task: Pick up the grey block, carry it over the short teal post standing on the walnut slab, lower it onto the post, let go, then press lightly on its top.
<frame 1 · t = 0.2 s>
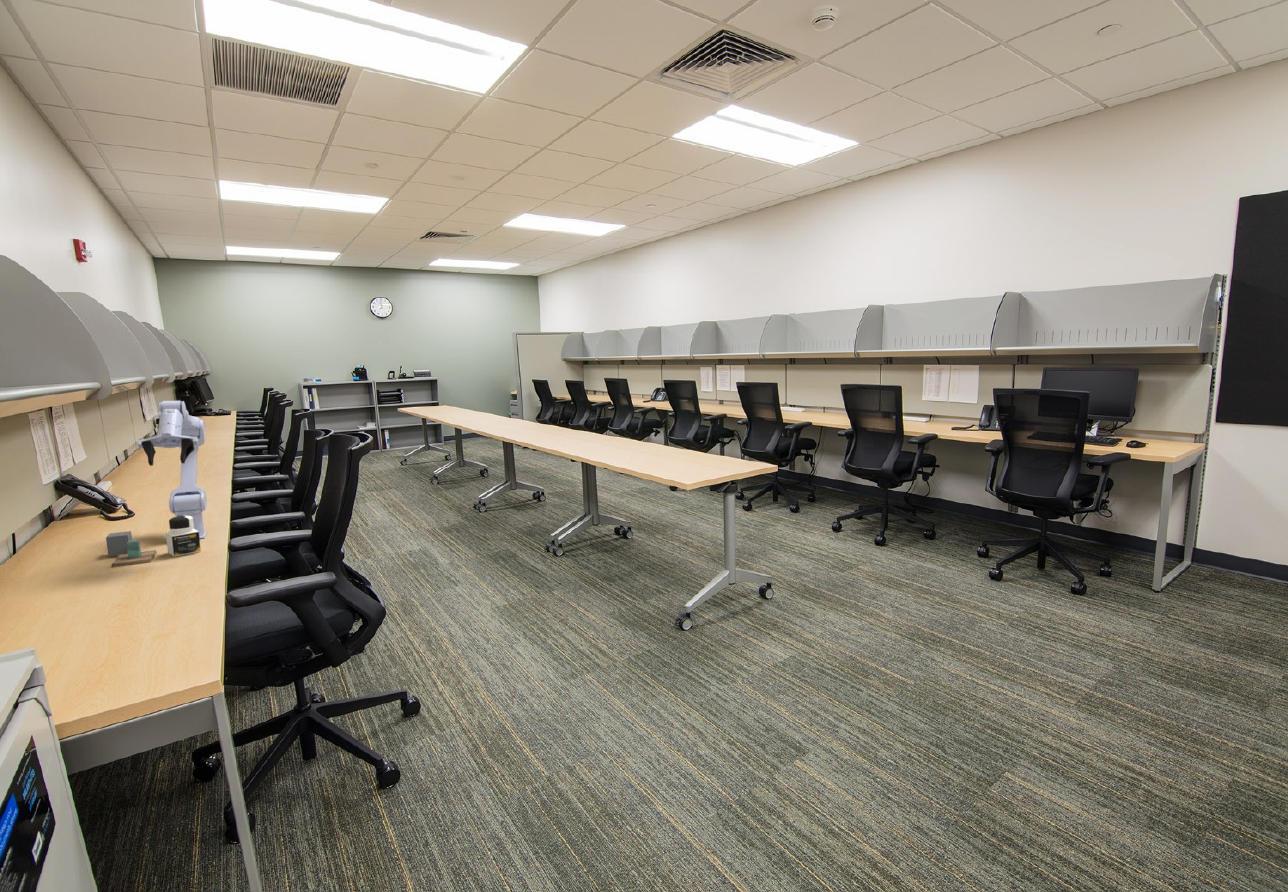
hand: (166, 462, 174), 31 cm above the table, tool tilted 45°, fingers open, 7 cm apart
stand: (135, 559, 177), on the table
medicine bottle: (184, 552, 185), on the table
grey block: (121, 553, 183), on the table
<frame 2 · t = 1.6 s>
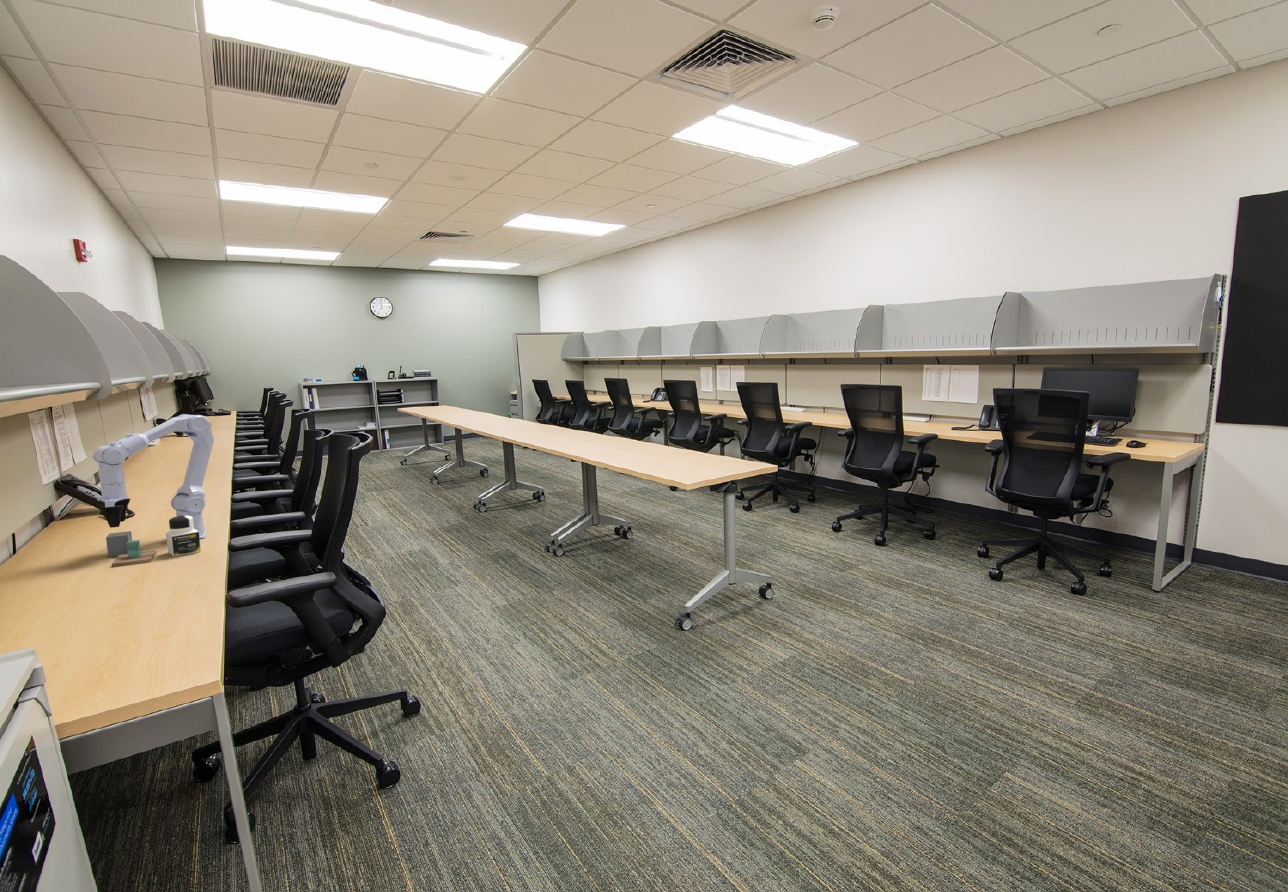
hand: (117, 524, 182), 10 cm above the table, tool pointing down, fingers open, 7 cm apart
nothing on the table moved.
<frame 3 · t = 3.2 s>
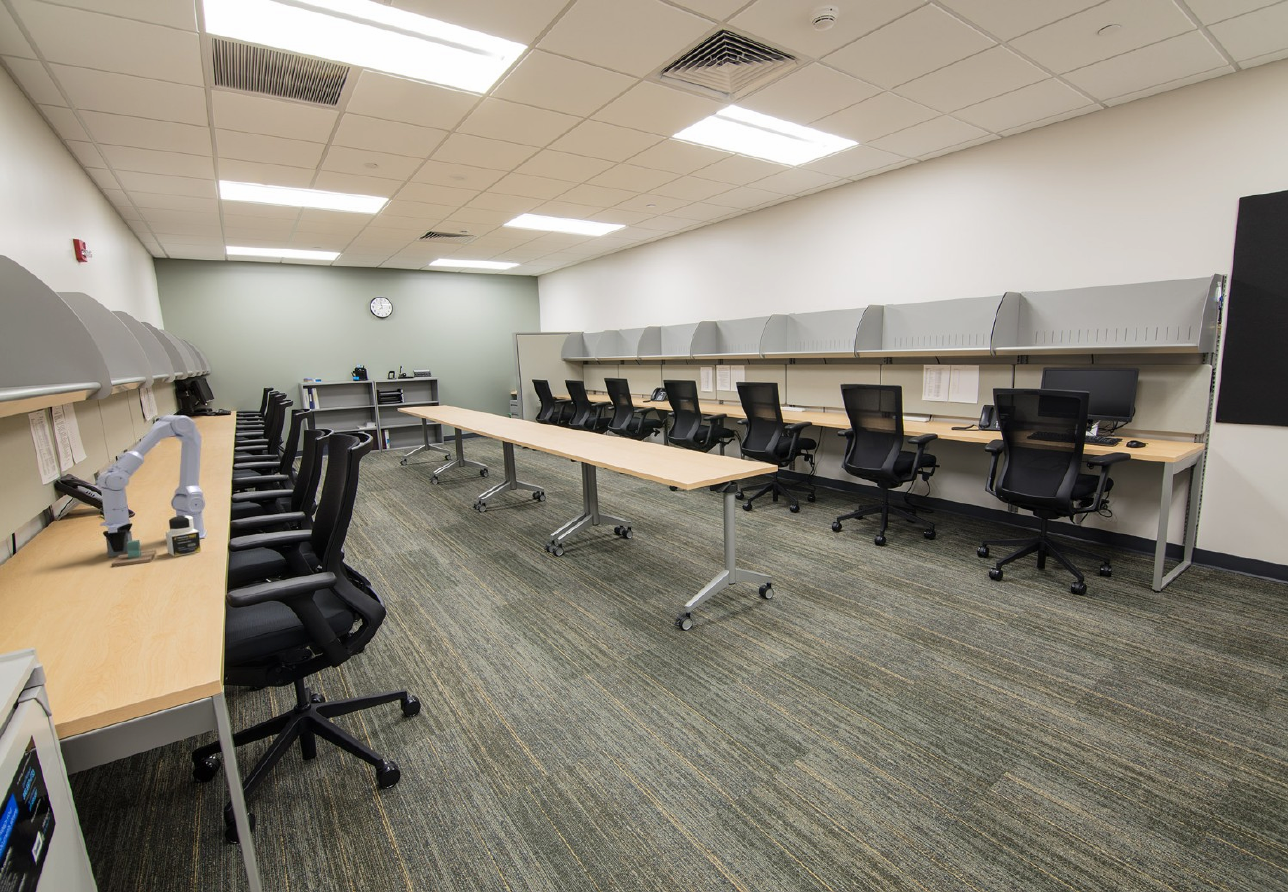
hand: (120, 549, 183), 2 cm above the table, tool pointing down, fingers closed on grey block, 5 cm apart
grey block: (121, 553, 183), on the table, touching gripper
everything else where it was.
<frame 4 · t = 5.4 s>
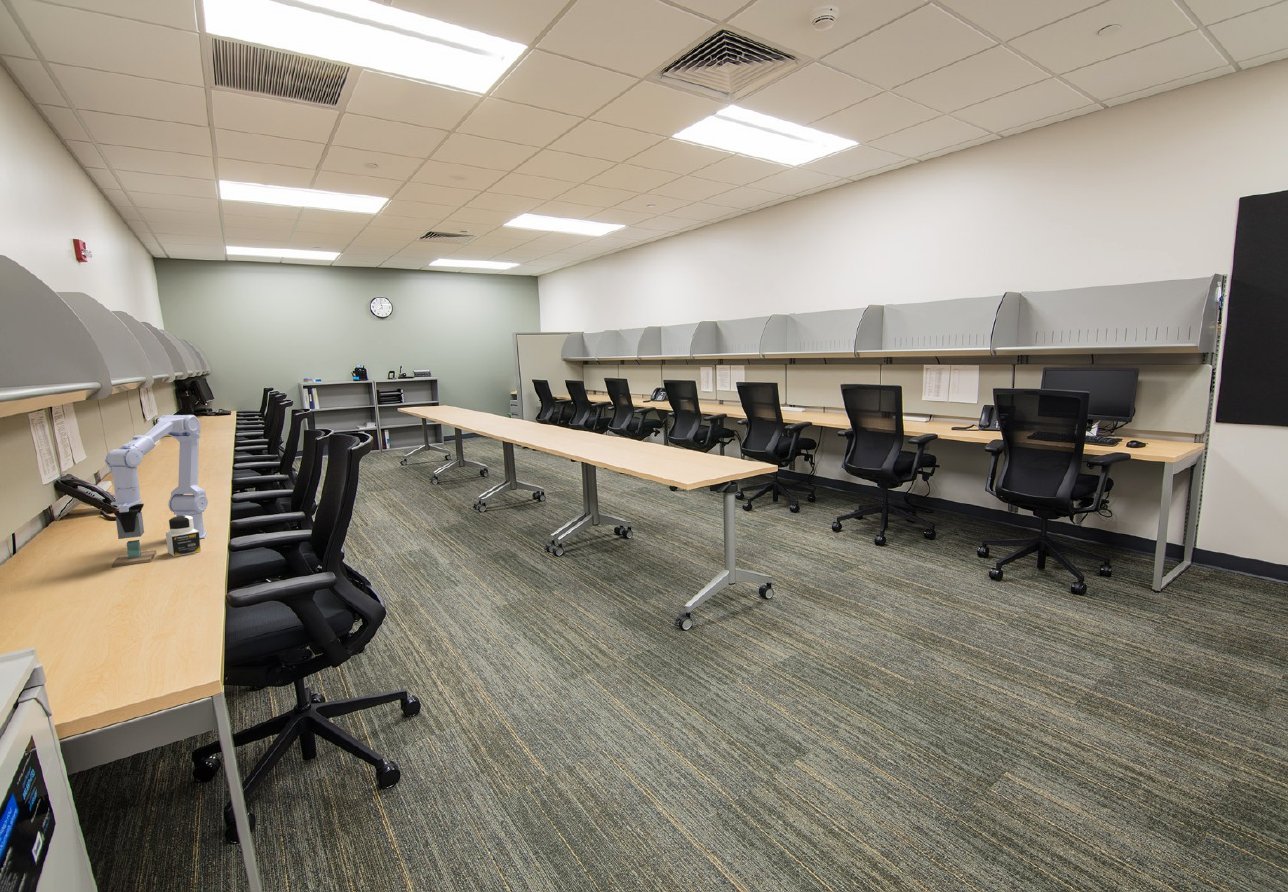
hand: (131, 529, 176), 10 cm above the table, tool pointing down, fingers closed on grey block, 5 cm apart
grey block: (131, 535, 176), point 8 cm above the table, touching gripper
everything else where it was.
when the fingers open (4 cm above the table, at t = 7.5 s): grey block drops 1 cm, resting on stand.
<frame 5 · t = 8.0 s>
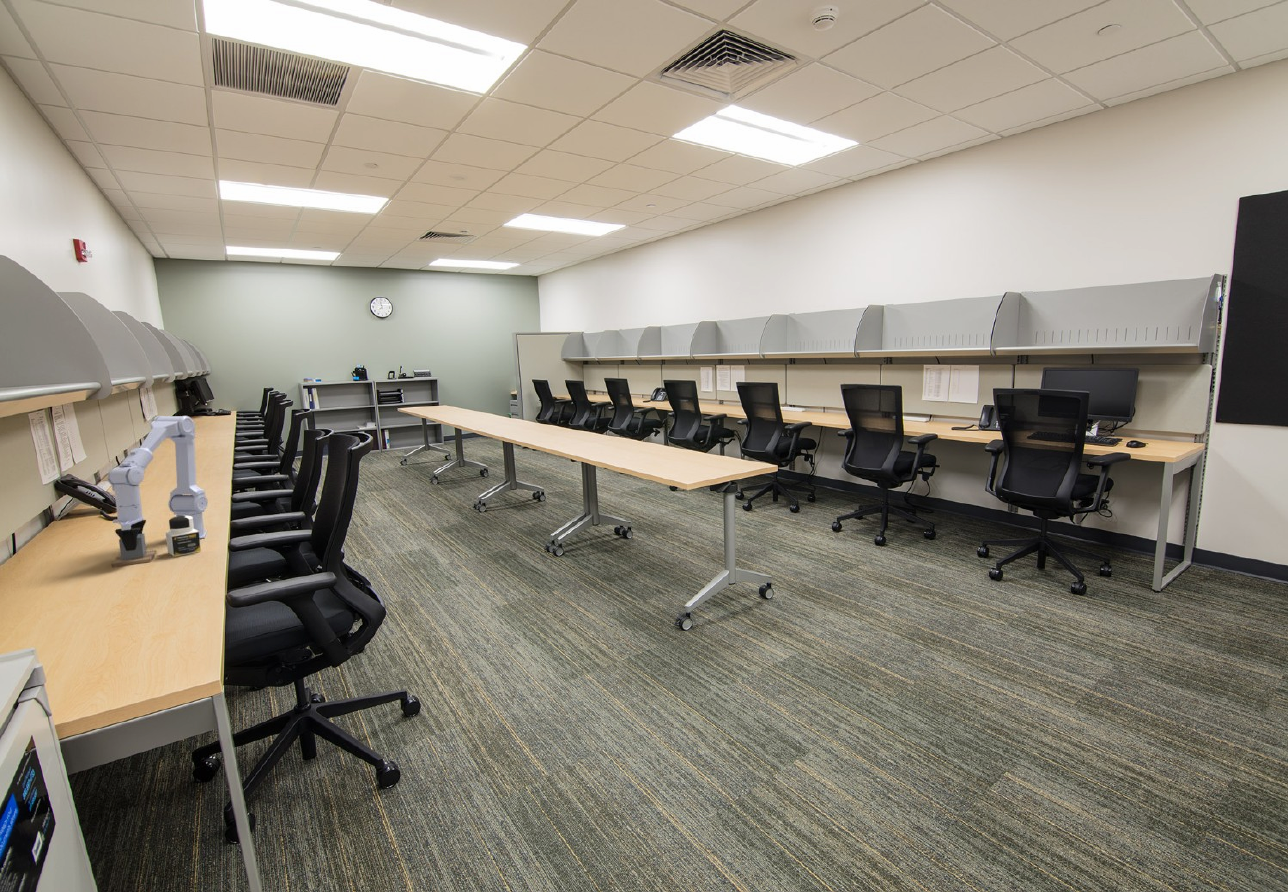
hand: (133, 546, 177), 4 cm above the table, tool pointing down, fingers open, 7 cm apart
grey block: (134, 556, 177), point 1 cm above the table, touching stand
everything else where it was.
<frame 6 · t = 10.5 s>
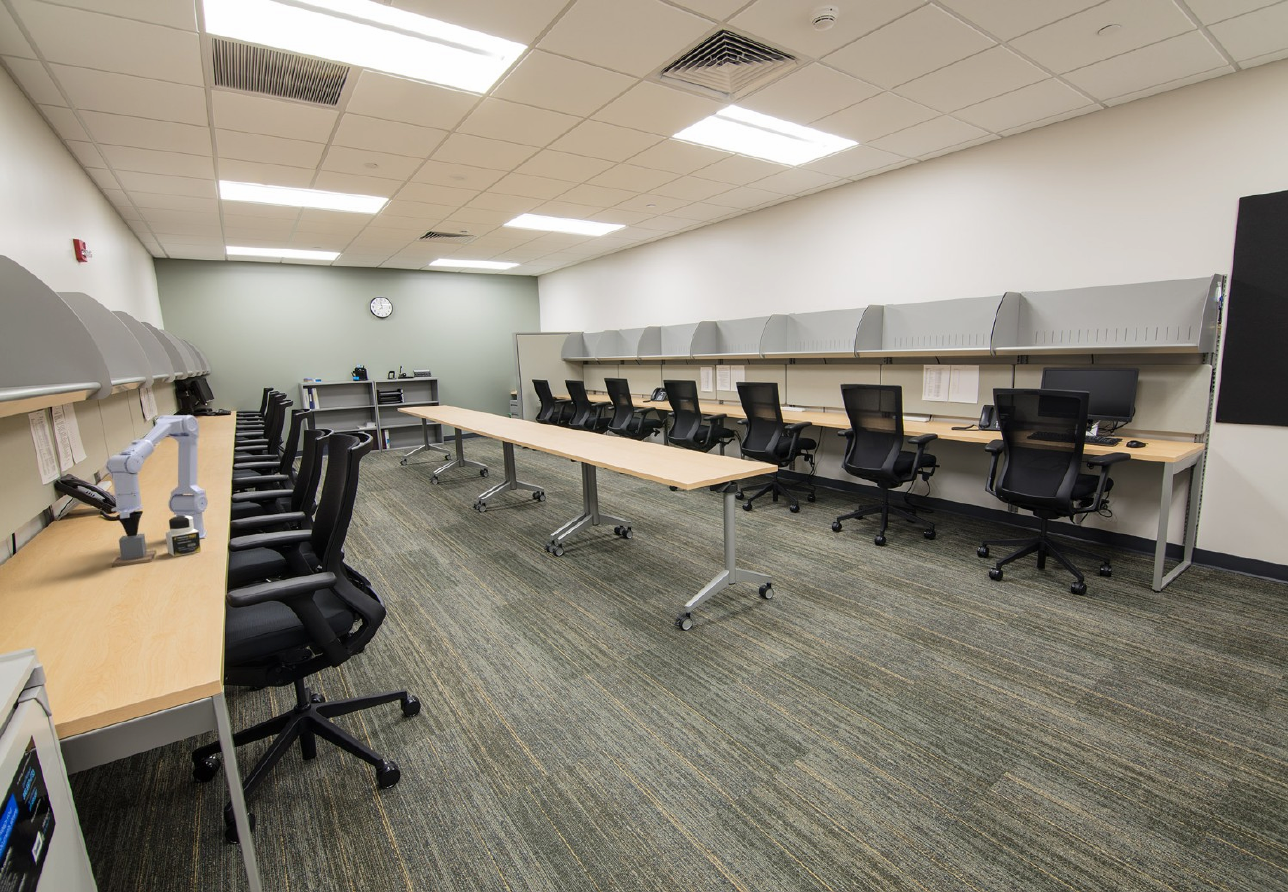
hand: (132, 535, 176), 8 cm above the table, tool pointing down, fingers closed
nothing on the table moved.
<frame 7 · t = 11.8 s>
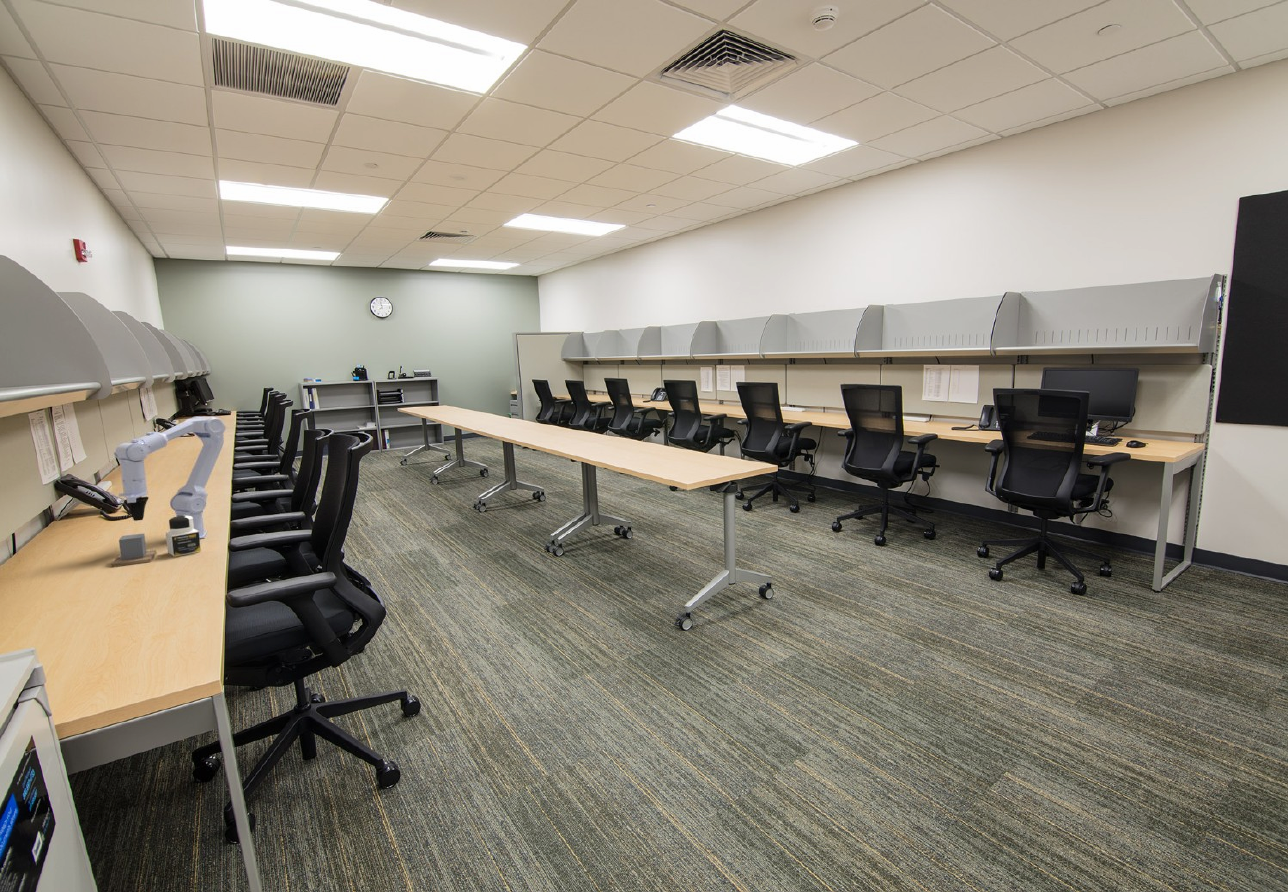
hand: (138, 520, 185), 10 cm above the table, tool pointing down, fingers closed
nothing on the table moved.
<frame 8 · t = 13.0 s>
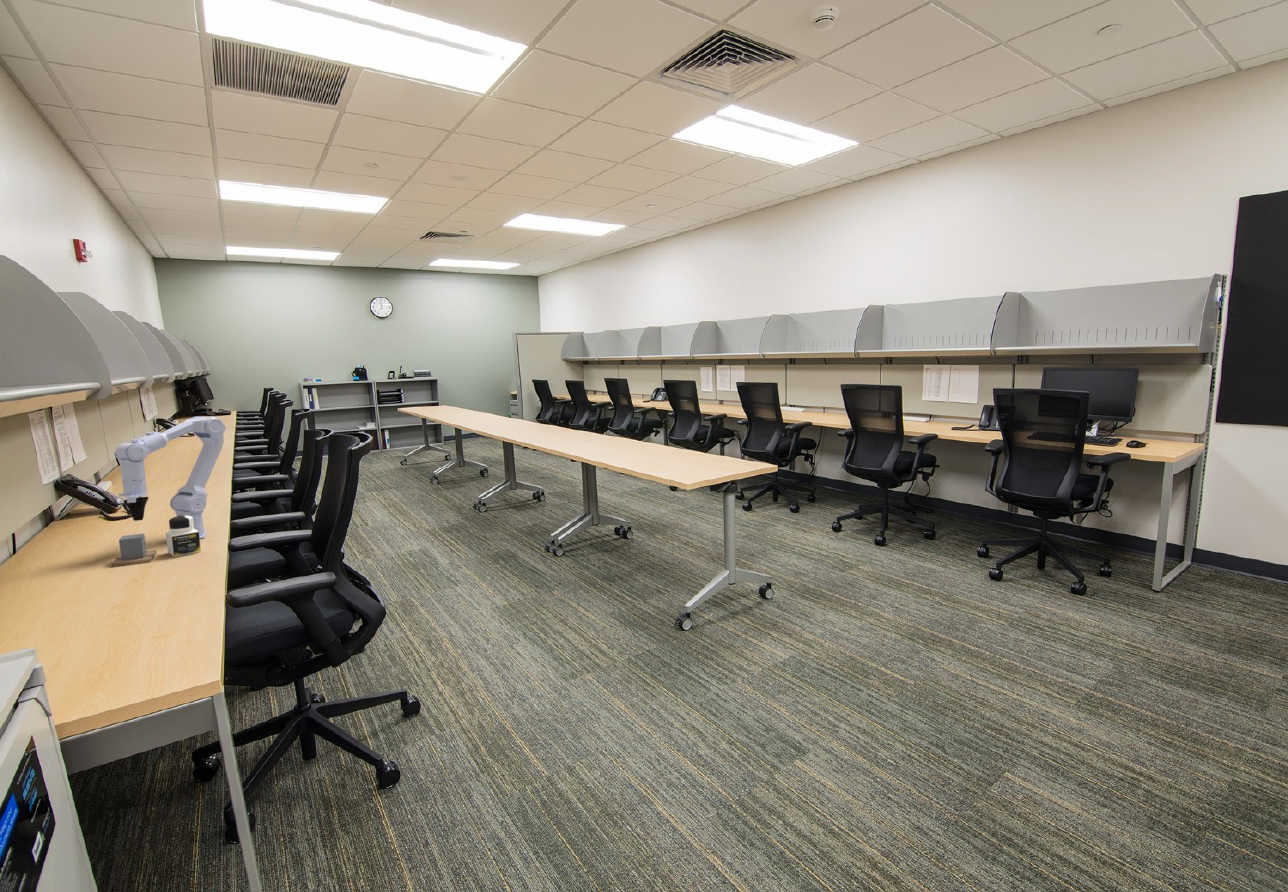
hand: (138, 520, 185), 10 cm above the table, tool pointing down, fingers closed
nothing on the table moved.
at the end: grey block 0.1 cm from the stand (horizontally); grey block point 1.0 cm above the table; grey block tilted 0° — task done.
